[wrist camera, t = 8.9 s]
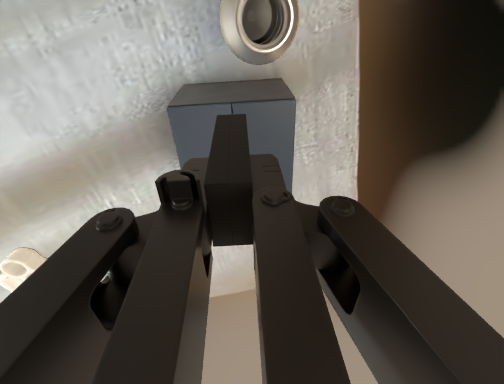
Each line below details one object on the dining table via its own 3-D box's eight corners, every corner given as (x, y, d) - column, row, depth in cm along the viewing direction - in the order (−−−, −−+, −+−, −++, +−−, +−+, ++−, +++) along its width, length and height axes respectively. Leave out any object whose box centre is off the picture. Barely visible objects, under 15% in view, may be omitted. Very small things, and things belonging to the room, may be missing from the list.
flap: (189, 202, 35) (189, 204, 35) (167, 107, 28) (166, 108, 27) (239, 198, 35) (239, 200, 35) (230, 102, 28) (230, 103, 28)
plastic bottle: (278, -18, 31) (326, -54, 14) (274, 47, 35) (308, 77, 18) (224, -19, 30) (209, -59, 14) (226, 46, 34) (216, 76, 18)
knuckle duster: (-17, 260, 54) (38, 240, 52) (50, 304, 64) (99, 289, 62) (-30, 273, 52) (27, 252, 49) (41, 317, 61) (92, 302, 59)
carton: (199, 164, 44) (188, 204, 35) (183, 84, 37) (165, 108, 27) (280, 159, 44) (292, 198, 35) (281, 78, 37) (296, 99, 28)
